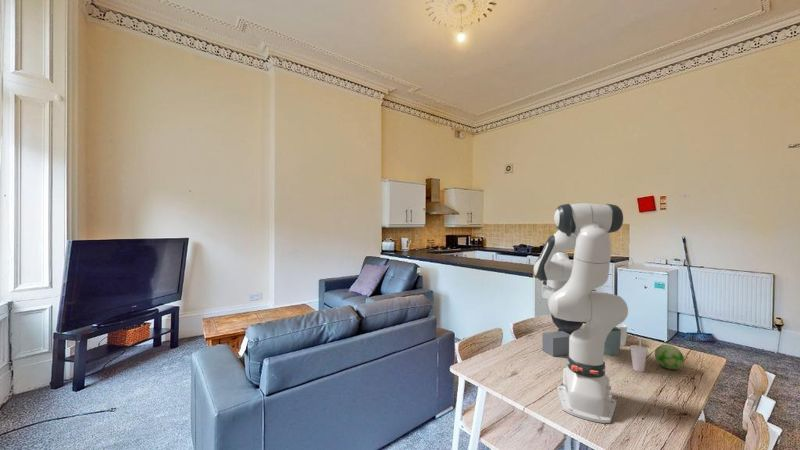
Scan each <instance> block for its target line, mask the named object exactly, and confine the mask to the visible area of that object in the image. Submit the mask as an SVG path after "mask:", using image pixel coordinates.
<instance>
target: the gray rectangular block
mask: <svg viewBox="0 0 800 450" xmlns="http://www.w3.org/2000/svg"><path fill="white" fill-rule="evenodd" d="M569 337H570V334H568V333H566V332H564V331H558V330H557V331H548V332H542V346H541V347H542V351H543V352H544V353H546V354H548V355H549V356H551V357H561V356H568V355H569Z"/></svg>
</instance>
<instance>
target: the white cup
mask: <svg viewBox="0 0 800 450" xmlns="http://www.w3.org/2000/svg"><path fill="white" fill-rule="evenodd" d="M615 327H618V328H620V329H621V337H620V339H621V340H620V347H621V346H623V347H624V346H626V344H627V343H626V342H627V334H628V332H627V331H628V325H627V324H625V323H623V322H622V323H620V324H618V325H617V326H615Z"/></svg>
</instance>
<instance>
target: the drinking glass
mask: <svg viewBox="0 0 800 450" xmlns="http://www.w3.org/2000/svg"><path fill="white" fill-rule="evenodd" d="M620 337H621V329H620V328H618V327H614V328H613V329H612V330H611V332H610V333H609V334H608V336H607V338H606V341H605V347H604V355H609V356H619V355H620V352H621V346H620V340H621V339H620Z"/></svg>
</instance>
